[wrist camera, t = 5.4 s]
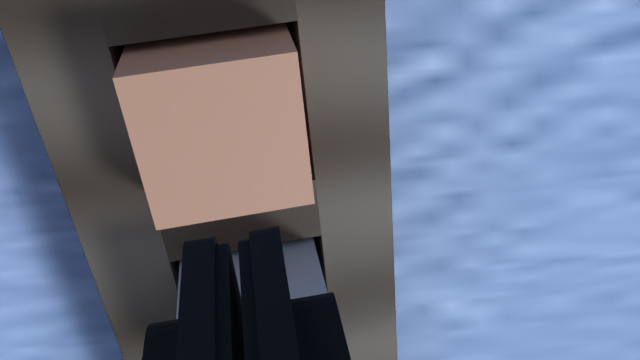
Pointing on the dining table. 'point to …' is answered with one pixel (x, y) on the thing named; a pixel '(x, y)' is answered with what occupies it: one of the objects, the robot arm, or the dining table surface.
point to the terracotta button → (216, 124)
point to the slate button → (291, 269)
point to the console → (167, 244)
